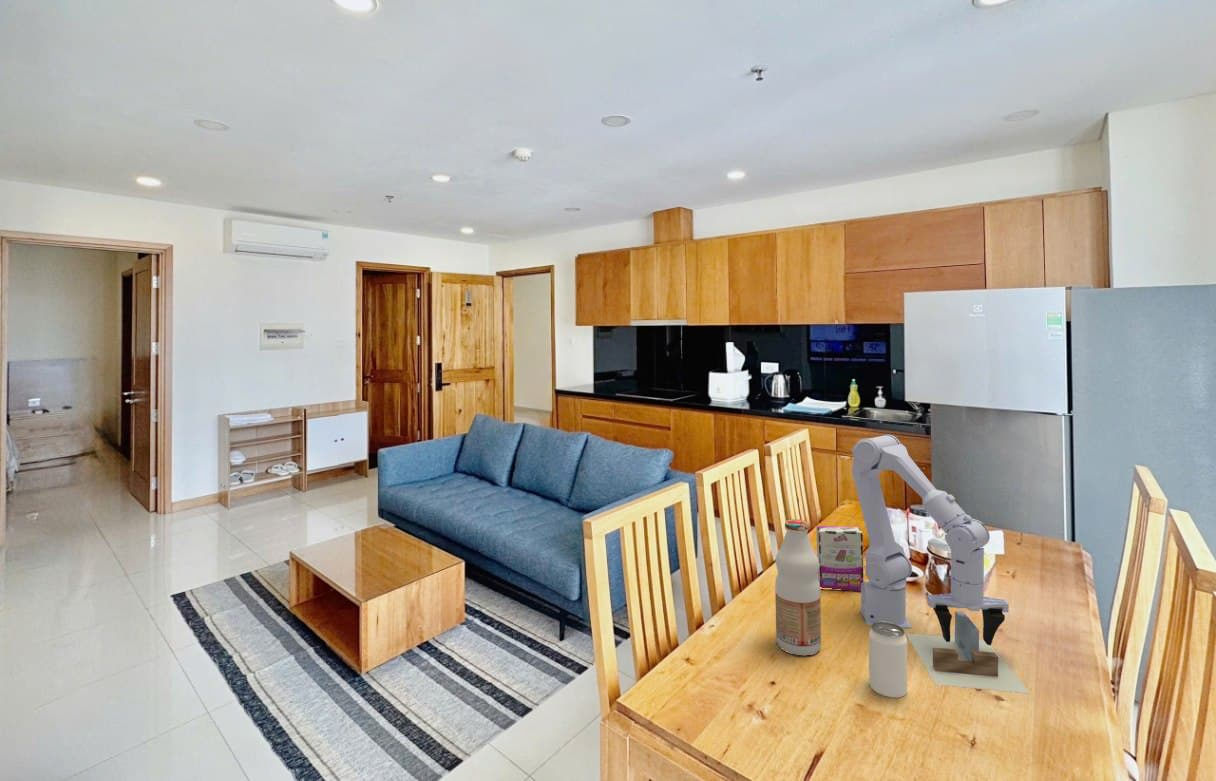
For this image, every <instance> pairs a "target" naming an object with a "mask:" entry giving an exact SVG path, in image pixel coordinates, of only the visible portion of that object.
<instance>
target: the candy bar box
mask: <svg viewBox="0 0 1216 781" xmlns="http://www.w3.org/2000/svg"><path fill="white" fill-rule="evenodd" d="M863 535H864V534H863V531H862V530H861V528H860V527H859V526H836V525H834V526H831V525H829V526H828V525H827V526H826V525H825V526H824V525H817V526H816V555H817V556H818V559H819V571H818V574H817V578H818V580H819V583H820V587H822V588H832V589H841V590H853V591H852V592H860V591H861V583H862V582H864V545H863V544H864V543H863V542H864V540H863V539H864V538H863Z"/></svg>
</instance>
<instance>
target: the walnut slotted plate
mask: <svg viewBox="0 0 1216 781" xmlns="http://www.w3.org/2000/svg"><path fill="white" fill-rule="evenodd" d="M933 668H934V669H935V671H941V672H952V673H963V674H974V675H985V676H996V677H998V656H997V655H996V654H995V653H994V652H982V651H972V661H963V660H958V653H957V652H956V650H955V649H945V648H933Z"/></svg>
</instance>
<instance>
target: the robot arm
mask: <svg viewBox="0 0 1216 781" xmlns="http://www.w3.org/2000/svg"><path fill="white" fill-rule="evenodd" d="M851 453H852V457H853V461H852V468H851V474H852V479H853V481H854V485H855V486H854V487H855V490H856V493H857V498H858V503H859V505H860V509H861V510H860V511H861V513H862V516H863V521H864V525H865V530H866V533H867V537H868V542H869V546H868V548H867V550H866V552H865V554H864V558H865V567H864V573H865V576H866V578H867V579H868V581H863V582H862V583H861V592H860V613H861V615H862V617H863V619H864V621H865V624H866V625H867V626H868V627H871V626H872V624H873V623H875V622H890V623H893V624H896V625H898V626H900V627H901V628H903V629H912V625H911V624H910V622H909V620H908V619H907V617H906V614H907V613H906V612H907V610H906V609H907V608H906V605H907V604H906V603H907V602H906V601H907V600H906V599H907V597H906V596H907V595H906V593H907V592H906V589H907V586H906V585H907V579H908V578H909V577H910V576H912V575H911V574H913V566H912V562H911V560H910V558H908V556H907V555H906V553H905V550H904V547H903V546H902V545H901V544H900V543H897V542H896V539H895V536H894V532H893V528H892V524H891V521H890V517H889V513H888V510H887V505H886V502H885V499H884V498H885V497H884V495H883V488H882V487H881V483H880V479H879V476H880V474H881V473H882V472H883V470H888V471H893V472H895V473H896V474H898V476H899V477H900V478H902V479H903V481H904V482H905V483H907V485H908V486H910V488H912V490H913V491H914V492H915V493H916V494H918V496H920V498H921V499H922V504H921V506H922V508H923V509H924V510H925V512H927V514H928V515H929V516H930V518H932V519H933V520H934V522H935V523H936V524H937V525H938V526H939V527H940V528H941V529H942V531H943V532H944V533H945V534H944V539H945V543H946V545H948V547H949V549H950V593H939V594H927V596H926V597H927V599H926V603H927V605H928V606H929V608H931V609H932V608H933V611H934V613H935V615H936V618H937V620H938V622H939V625H940V628H941V633H942V634H941V635H942V636H943V638H944V639H945V641H946V642H950V637H951V624H952V618H953V615H952V614H951V612H950V609H949V608H955V609H956V608H957V609H966V610H968V611H970V612H980V611H981V614H982V622H983V623H982V627H983V628H982V639H983V640H984V641H985V643H986V644H987V645H991V646H992V643H993V640H994V638H995V635H996V632H997V630H998V629H999V628H1000V626H1001V625H1002V624H1003V623H1004V622H1005V619H1006V616H1005V614H1004V613H1010V612H1009V602H1007V600H1005V599H1004V598H1003V599H1002V598H995V597H990V596H989V597H988V596H984V592H985V591H984V585H985V582H984V581H985V578H984V577H985V576H984V575H985V573H984V572H985V548H984V547H985V546H986V545H987V544H988V543H989V541H990V538H991V537H990V531H989V529H988V528H987V527H986V525H985V524H984V523H983V522H982V521H981V520H978V519H975V518H972V516H971V515H970V514H967V513H966V512H965V511H964V510H963V508H962V507H961V506H960V505H959V504H958V503H957V502H956V501H955V500H956V498H955V496H953V495H952V494H949V493H947V491H945V490H940V489H937V488H936V487H935V486H934V485H933V484H932V482H931V481H930V480H929V479H928V478H927V476H926V475H925V474H924V473H923V471H922V470H921V469H920V467H918V465H917V464H916V463H915V461H914V460H913V459H912V458H911V456H910V455H909V452H908V450H907V448H906V446H905V445H903V443H901V442H900V440H899V439H898V438H897V437H896V436H894V435H891V434H883V435H881V436H875V437H870V438H869V437H868V438H862V439H860V440H859V441H857V442H856V444H855V445H854V446H853V448H852V449H851Z"/></svg>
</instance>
